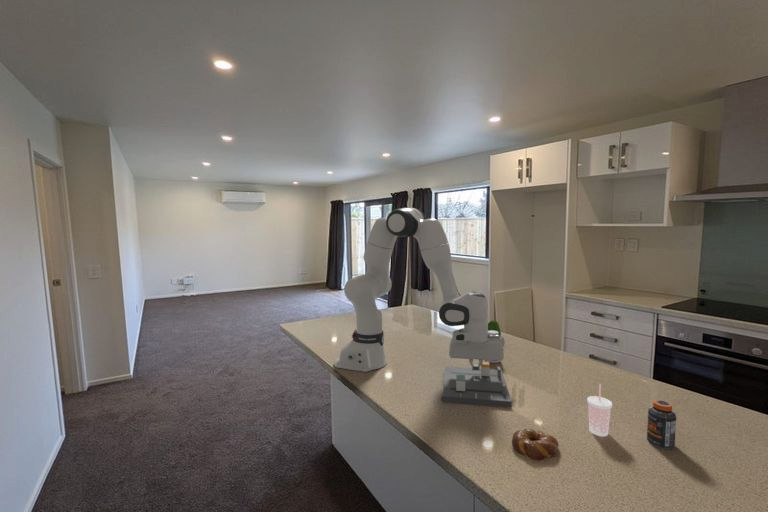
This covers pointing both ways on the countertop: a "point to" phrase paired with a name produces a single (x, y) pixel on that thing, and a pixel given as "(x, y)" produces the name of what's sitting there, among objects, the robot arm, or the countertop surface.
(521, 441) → the pretzel
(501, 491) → the countertop surface
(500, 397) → the console
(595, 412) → the beverage cup
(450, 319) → the robot arm
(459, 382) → the fader
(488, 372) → the fader
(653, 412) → the pill bottle
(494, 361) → the supplement bottle
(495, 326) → the avocado
